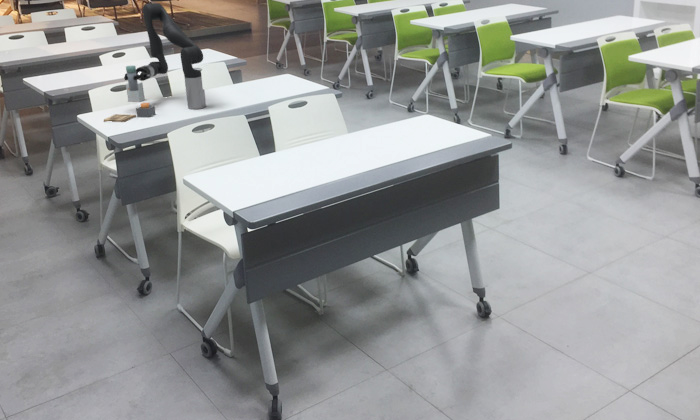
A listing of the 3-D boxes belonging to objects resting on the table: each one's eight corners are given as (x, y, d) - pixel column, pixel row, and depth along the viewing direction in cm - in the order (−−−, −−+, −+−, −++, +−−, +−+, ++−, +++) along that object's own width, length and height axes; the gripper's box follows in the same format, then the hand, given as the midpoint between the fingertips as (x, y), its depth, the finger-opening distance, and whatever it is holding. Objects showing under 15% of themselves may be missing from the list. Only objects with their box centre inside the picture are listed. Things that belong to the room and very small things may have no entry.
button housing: (155, 114, 395) (154, 105, 393) (149, 117, 389) (148, 108, 387) (143, 113, 397) (142, 105, 395) (137, 116, 390) (136, 108, 389)
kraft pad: (136, 116, 391) (135, 114, 391) (124, 121, 380) (124, 119, 380) (115, 116, 394) (115, 114, 393) (103, 121, 383) (103, 119, 382)
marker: (140, 89, 401) (137, 65, 396) (135, 91, 396) (132, 67, 392) (132, 89, 402) (128, 65, 397) (127, 91, 397) (124, 67, 393)
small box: (145, 99, 432) (142, 82, 429) (139, 101, 427) (137, 84, 424) (133, 99, 435) (131, 81, 431) (128, 101, 430) (125, 83, 426)
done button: (151, 108, 393) (150, 102, 392) (147, 110, 389) (146, 104, 388) (143, 108, 394) (143, 102, 393) (139, 109, 390) (139, 104, 389)
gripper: (132, 66, 410) (116, 71, 394) (155, 66, 407) (140, 71, 391) (134, 79, 412) (118, 85, 397) (157, 79, 409) (142, 85, 394)
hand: (129, 78), depth 394 cm, fingers closed on marker, 4 cm apart
